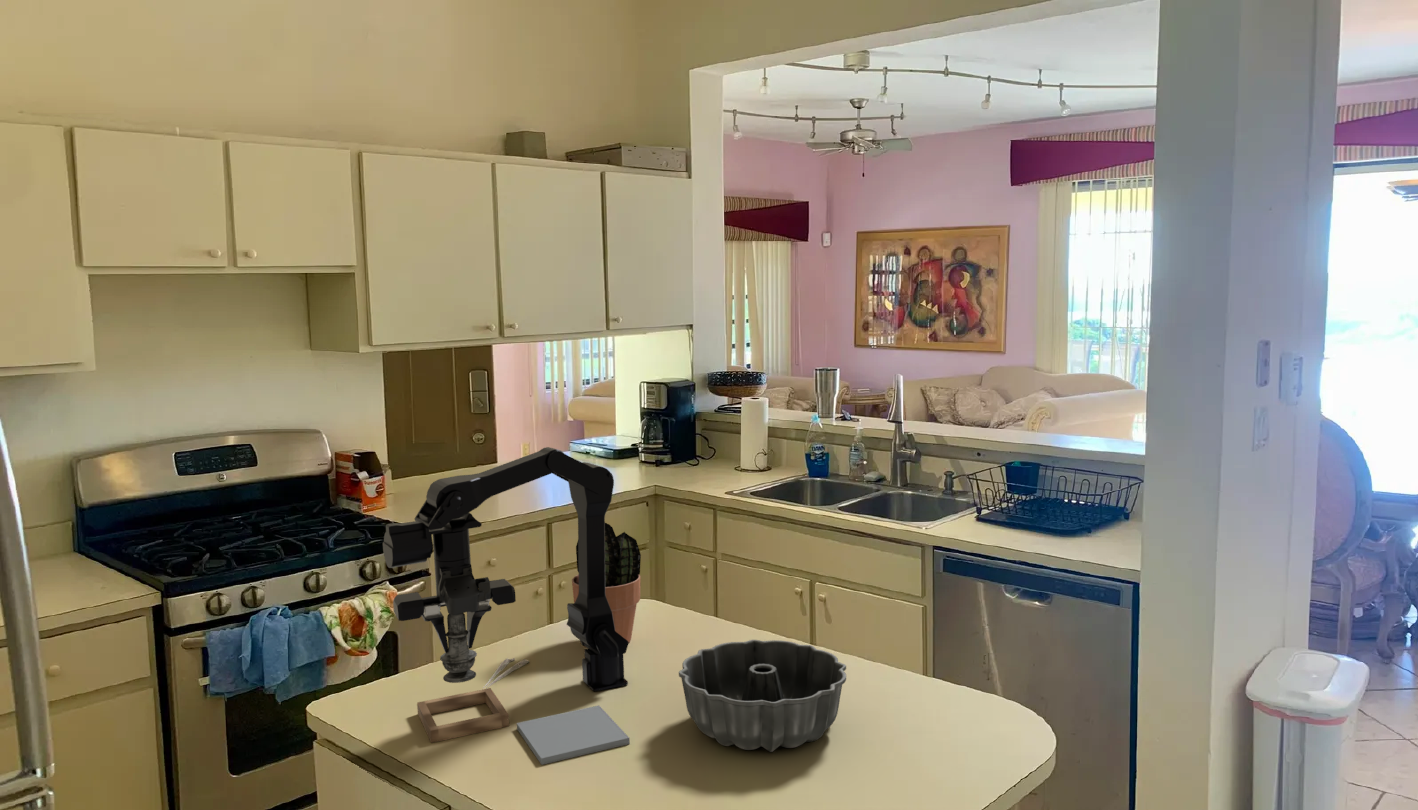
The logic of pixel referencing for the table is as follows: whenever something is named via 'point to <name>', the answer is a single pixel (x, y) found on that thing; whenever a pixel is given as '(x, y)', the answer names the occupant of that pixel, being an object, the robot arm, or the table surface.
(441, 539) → the robot arm
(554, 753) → the grey mat
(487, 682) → the tweezers
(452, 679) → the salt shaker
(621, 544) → the potted plant
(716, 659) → the bundt pan
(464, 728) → the frame
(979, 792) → the table surface
